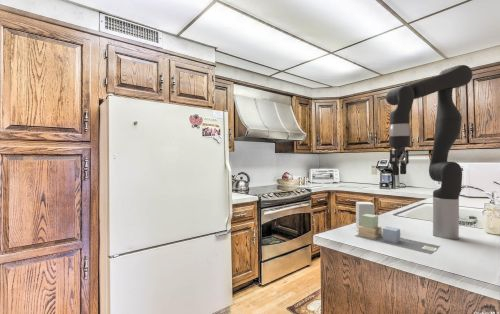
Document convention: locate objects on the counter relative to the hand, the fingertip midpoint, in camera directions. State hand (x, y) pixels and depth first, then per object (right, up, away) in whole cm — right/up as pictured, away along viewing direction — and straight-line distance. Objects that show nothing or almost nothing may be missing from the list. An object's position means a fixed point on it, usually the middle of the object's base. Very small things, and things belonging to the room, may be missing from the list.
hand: (399, 174), depth 110 cm
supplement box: (-5, -28, +21) cm, 36 cm away
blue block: (-3, -28, +1) cm, 28 cm away
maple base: (-9, -28, +8) cm, 30 cm away
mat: (-2, -28, +1) cm, 28 cm away
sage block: (-9, -24, +8) cm, 26 cm away
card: (+6, -28, -9) cm, 30 cm away
